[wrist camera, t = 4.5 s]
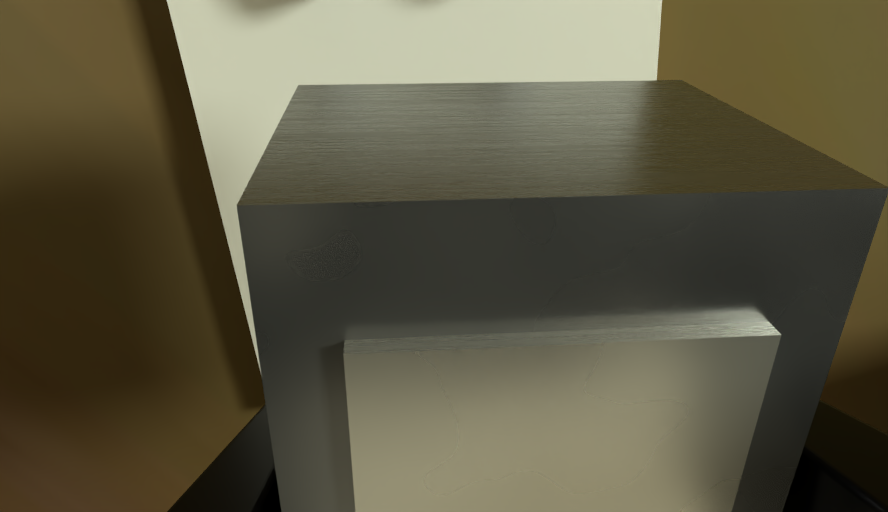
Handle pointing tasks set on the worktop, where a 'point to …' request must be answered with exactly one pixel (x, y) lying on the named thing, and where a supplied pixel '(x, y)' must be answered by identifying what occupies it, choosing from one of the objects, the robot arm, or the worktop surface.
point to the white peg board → (382, 62)
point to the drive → (544, 297)
